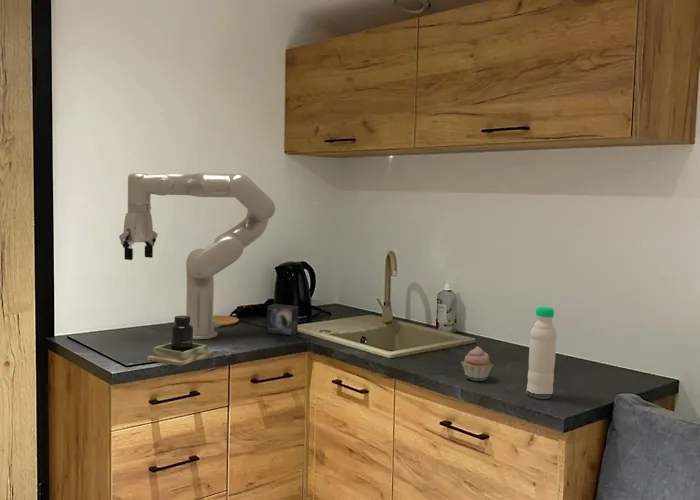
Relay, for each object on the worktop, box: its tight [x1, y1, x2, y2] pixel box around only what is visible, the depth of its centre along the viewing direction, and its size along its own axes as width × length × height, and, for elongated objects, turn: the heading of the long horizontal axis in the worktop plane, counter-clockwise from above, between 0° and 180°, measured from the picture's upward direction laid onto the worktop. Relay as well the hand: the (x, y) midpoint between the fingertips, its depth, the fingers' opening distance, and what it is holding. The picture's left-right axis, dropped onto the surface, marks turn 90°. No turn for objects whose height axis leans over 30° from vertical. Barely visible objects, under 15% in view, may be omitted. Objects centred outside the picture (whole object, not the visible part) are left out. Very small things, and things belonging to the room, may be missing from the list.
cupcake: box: [460, 345, 494, 378], centre depth 204 cm, size 9×9×10 cm
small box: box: [266, 303, 299, 337], centre depth 255 cm, size 11×6×10 cm, turn 72°
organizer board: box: [146, 342, 214, 367], centre depth 216 cm, size 16×13×4 cm
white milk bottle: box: [526, 306, 558, 394], centre depth 188 cm, size 7×7×25 cm
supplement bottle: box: [170, 315, 194, 352], centre depth 216 cm, size 7×7×12 cm
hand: (138, 258), depth 237 cm, fingers open, 9 cm apart
